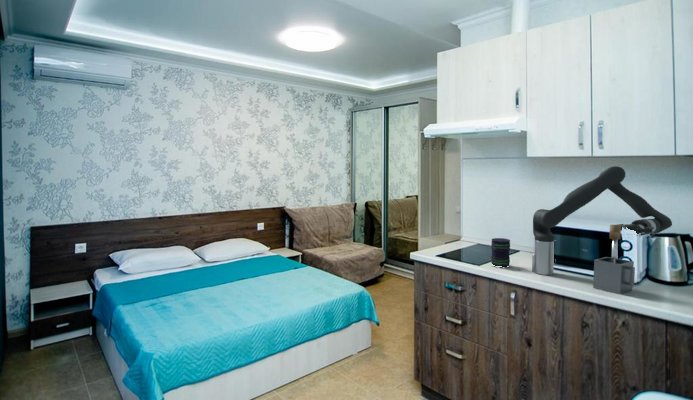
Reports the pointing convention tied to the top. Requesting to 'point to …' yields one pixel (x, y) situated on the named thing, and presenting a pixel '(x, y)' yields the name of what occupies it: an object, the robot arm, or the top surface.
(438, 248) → the top surface
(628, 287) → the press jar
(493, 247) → the storage jar
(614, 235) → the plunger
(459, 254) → the top surface
